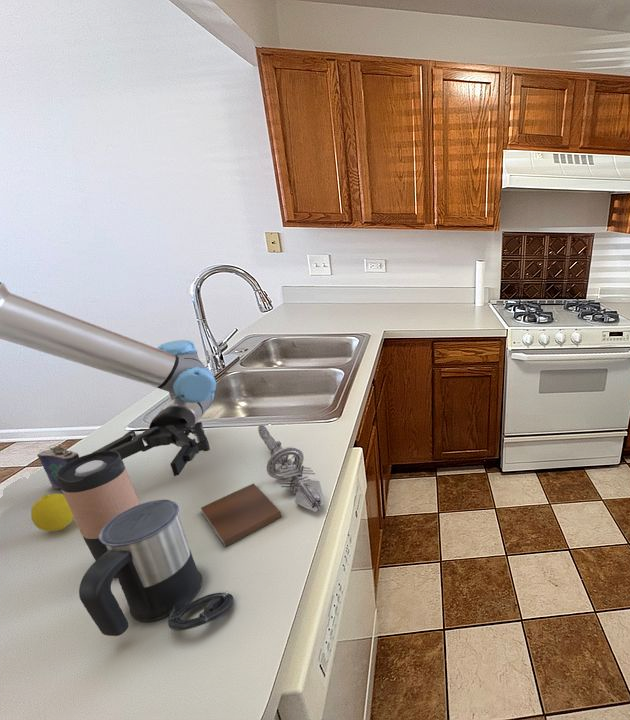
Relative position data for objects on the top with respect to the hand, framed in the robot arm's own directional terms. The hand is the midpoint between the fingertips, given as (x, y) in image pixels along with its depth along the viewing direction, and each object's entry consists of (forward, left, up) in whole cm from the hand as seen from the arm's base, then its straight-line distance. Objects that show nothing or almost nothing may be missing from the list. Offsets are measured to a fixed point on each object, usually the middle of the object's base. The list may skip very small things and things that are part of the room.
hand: (130, 476), depth 72 cm
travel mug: (+6, -4, -12) cm, 14 cm away
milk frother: (+23, 0, -12) cm, 26 cm away
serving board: (+9, +13, -12) cm, 20 cm away
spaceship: (+4, +25, -12) cm, 28 cm away
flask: (-28, -8, -12) cm, 31 cm away
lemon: (-13, -11, -12) cm, 21 cm away
